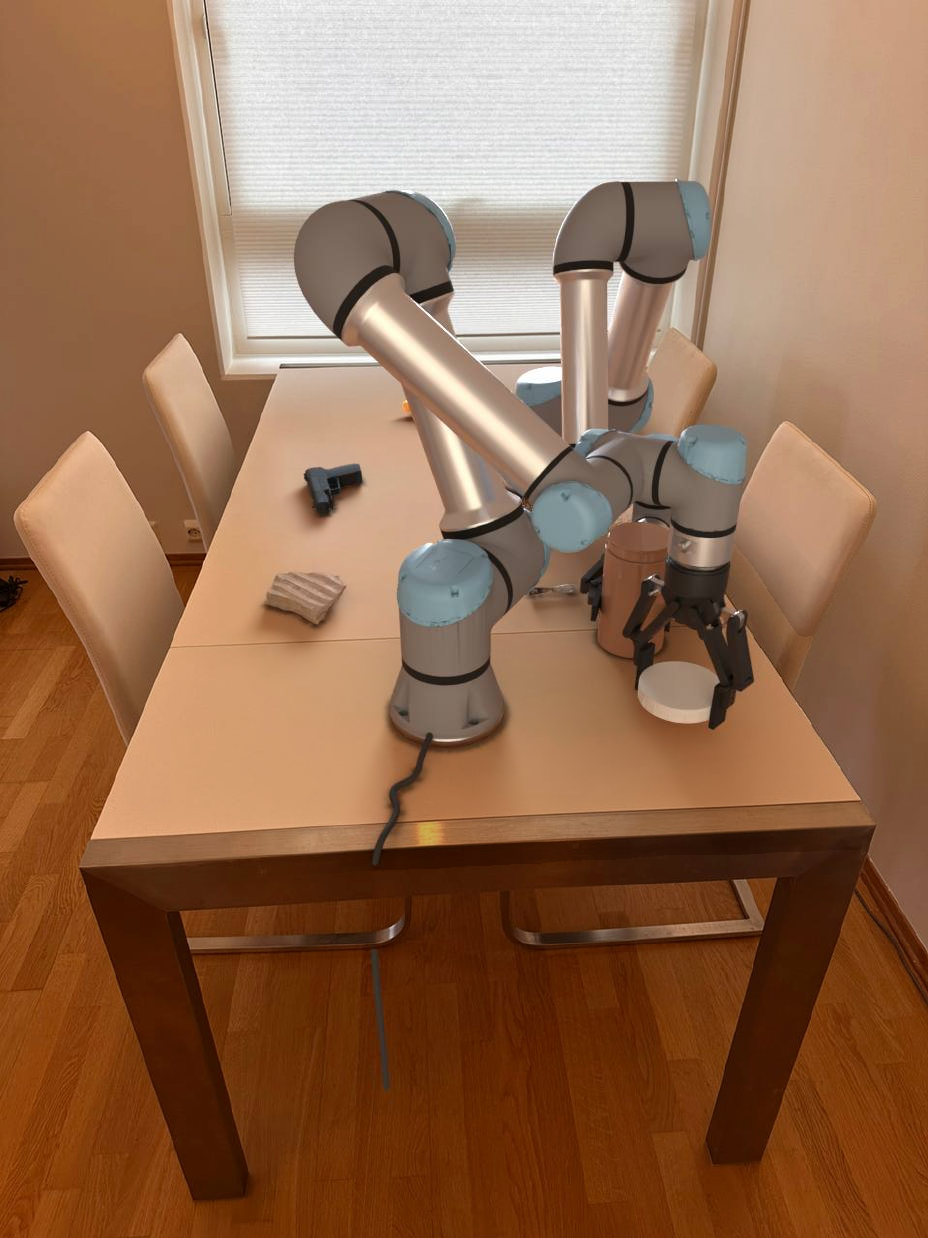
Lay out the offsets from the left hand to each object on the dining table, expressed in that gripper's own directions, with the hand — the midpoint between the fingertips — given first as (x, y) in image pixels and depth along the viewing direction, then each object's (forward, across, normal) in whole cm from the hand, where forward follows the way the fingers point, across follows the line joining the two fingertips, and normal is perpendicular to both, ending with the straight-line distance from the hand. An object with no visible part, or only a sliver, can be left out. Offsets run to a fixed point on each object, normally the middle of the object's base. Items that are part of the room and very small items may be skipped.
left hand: (678, 705), depth 118 cm
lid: (-3, 0, 0) cm, 3 cm away
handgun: (+2, -91, +12) cm, 92 cm away
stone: (+2, -60, -18) cm, 62 cm away
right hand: (-4, -14, +8) cm, 17 cm away
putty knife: (+2, -34, +13) cm, 36 cm away
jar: (+3, -16, +12) cm, 20 cm away
